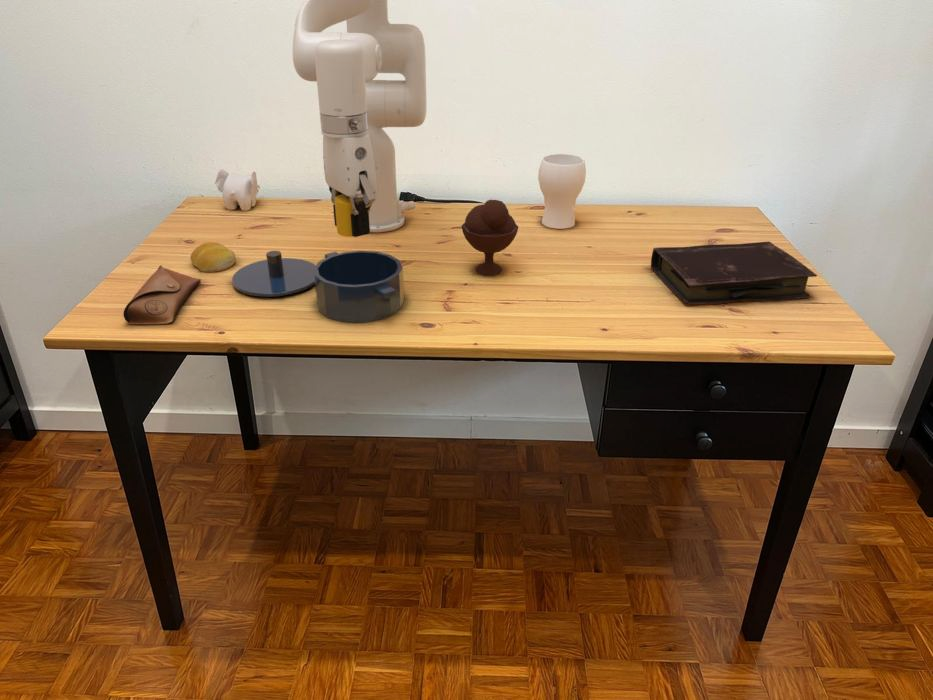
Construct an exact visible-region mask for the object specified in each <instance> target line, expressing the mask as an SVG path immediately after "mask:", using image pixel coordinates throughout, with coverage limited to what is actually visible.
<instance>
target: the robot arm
mask: <svg viewBox="0 0 933 700" xmlns="http://www.w3.org/2000/svg"><path fill="white" fill-rule="evenodd" d="M388 12H389V11H388V0H305V1H304V2H303V3H302V4H301V6H300V7H299V10H298V11H297V13H296V17H295V22H294V32H293V39H292V63H293V67H294V69H295V72H296V74H297V75H298V76H299V77H300V78H301V79H302V80H304V81H307V82H316V87H317V98H318V108H319V122H320V130H321V131H320V132H321V135H322V157H323V159H322V160H323V161H322V163H323V173H324V179H325V183H326V184H327V186H328V191H329V192H330V196H331V197H330V200H331V201H330V202H331V203H332V207H333V209H332V210H333V220H334V221H333V222H334V226H335V227H337V224H336V212H335V201H334V198H335V197H336V196H338V195H341V194H345V195H347V196H349V198H350V202H351V207H352V211H353V214H351V226H352V236H354V237H353V238H358V237H362V236H365V235H366V236H367V235H369V234H370V233H386V232H391V231H395V230H398V229H400V228H401V227H403V226H404V224H405V216H404V215H403V213H405V211H411V210H415V209H416V203H415V202H414V200H410V201H406V202H405V201H404V200H398V190H397V188H398V187H397V169H396V167H397V166H396V148H395V144H394V142H393V140H392V139H391V137H390V135H388V134H387V132H386V131H385V130H384V128H415V127H420V126H422V125H423V124H424V123H425V120H426V117H427V68H426V64H427V63H426V45H425V39H424V35H423V33H422V31H421V29H420V28H419V27H418V26H416V25H414V24H411V23H390V22H389V13H388ZM342 22H346V32H341V31H340V32H339V31H338V32H337V31H336V32H335V31H334V32H333V31H331V32H329V31H325V30H326V29H328V28H330V27H332V26H334V25H336V24H340V23H342ZM378 74H400V75H402V76H403V77H404V79H402V80H401V79H399V80H398V79H397V80H396V79H395V80H393V79H392V80H391V79H388V80H387V79H375V78H376V77H377V75H378ZM357 194H358V195H357ZM359 198H362V201H360V202H359V204H358V205H357V201H356V199H359Z"/></svg>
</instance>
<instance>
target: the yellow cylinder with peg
mask: <svg viewBox="0 0 933 700" xmlns="http://www.w3.org/2000/svg"><path fill="white" fill-rule="evenodd" d="M357 195H358V194H357ZM334 201H335V212H336V224H337V226H336V233H337V234H338V235H339V236H343V237H346V238H347V237H349V238H350V237H351V238H355V237H354V236H352V226H351V214H353V211H352V207H351V202H350V198H349V196H347V195H345V194H341V195H338V196H336V197H335V198H334ZM356 201H357V205H358V204H359V202H360V201H362V198H359V199H356Z"/></svg>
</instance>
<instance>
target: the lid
mask: <svg viewBox="0 0 933 700" xmlns="http://www.w3.org/2000/svg"><path fill="white" fill-rule="evenodd" d="M265 257H266V259H263V260H259V261H254V262H252V263H249V264H246V265H243V266H242V267H241V268H239V269H238V270H236V272H235V273H234V274H233V276H232V279H231V280H232V285H233V287H234V289H236V290H237V291H239V292H241V293H243V294H246V295H249V296H255V297H281V296H282V297H283V296H288V295H292V294H296V293H301V292H303V291H305V290H307V289H309V288H311V287H313V286H315V279H314V270H313V269H314V267H315V266H316V265H317V264H315V263H313V262H311V261H308V260H305V259H302V258H301V259H300V258H292V257H283V255H282V252H281V251H280V250H270V251H268V252H266V253H265Z"/></svg>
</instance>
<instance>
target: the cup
mask: <svg viewBox="0 0 933 700" xmlns="http://www.w3.org/2000/svg"><path fill="white" fill-rule="evenodd" d="M586 168H587V167H586V161H585V158H583V157H582V156H579V155H576V154H570V153H551V154H547V155H544V156H543V157H542V158H541V161H540V163H539V168H538V177H537V179H538V185H539V188H540V191H541V193H542V196H543V200H544V202H543V203H544V210H543V213H542V219H541V224H542V225H543V226H544V227H546V228H550V229H555V230H556V229H557V230H558V229H559V230H562V229H571V228H573V227H574V226H575V224H576V217H575V206H576V202H577V199H578V197H579V195H580V194H581V192H582V190H583V188H584V185H585V182H586V175H587V174H586V173H587V169H586Z"/></svg>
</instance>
